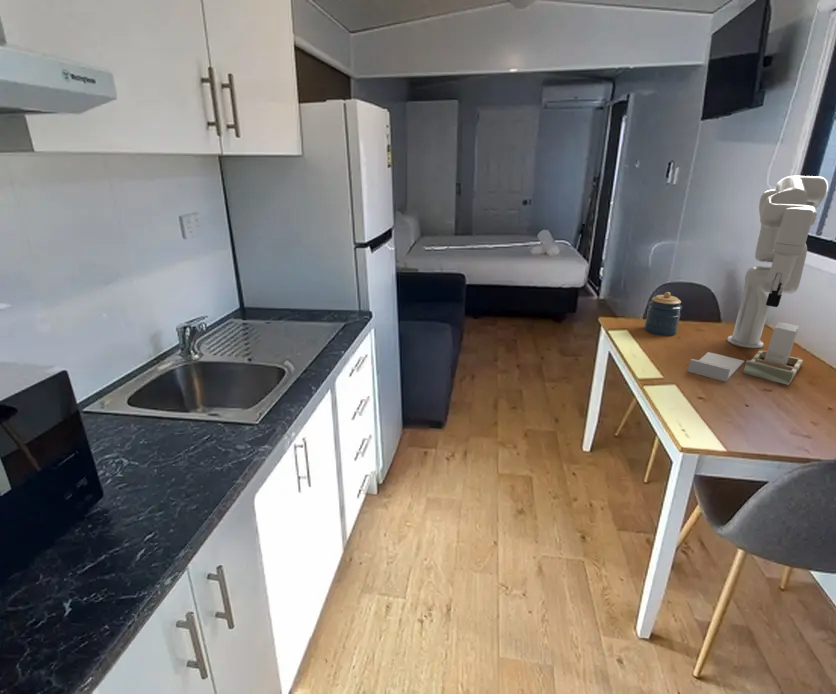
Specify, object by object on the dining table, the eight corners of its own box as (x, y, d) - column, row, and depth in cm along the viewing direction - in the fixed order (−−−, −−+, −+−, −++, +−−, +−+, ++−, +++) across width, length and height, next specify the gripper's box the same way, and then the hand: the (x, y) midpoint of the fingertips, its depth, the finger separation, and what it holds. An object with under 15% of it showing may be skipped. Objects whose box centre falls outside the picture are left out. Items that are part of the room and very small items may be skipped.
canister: (661, 338, 206) (669, 297, 199) (637, 328, 217) (644, 289, 210) (683, 334, 211) (692, 294, 204) (658, 325, 222) (666, 287, 215)
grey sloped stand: (707, 353, 189) (710, 343, 187) (743, 362, 181) (746, 351, 179) (687, 371, 173) (690, 359, 171) (725, 381, 165) (729, 369, 164)
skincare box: (766, 360, 184) (778, 321, 178) (787, 365, 180) (800, 325, 174) (761, 366, 178) (773, 326, 172) (783, 372, 174) (796, 330, 168)
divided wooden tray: (758, 355, 188) (761, 344, 186) (801, 365, 179) (804, 354, 178) (743, 373, 172) (746, 361, 170) (789, 385, 163) (792, 372, 162)
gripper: (778, 244, 159) (763, 298, 166) (769, 250, 149) (753, 308, 156) (806, 247, 154) (790, 303, 161) (799, 254, 144) (781, 313, 151)
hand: (772, 305), depth 158 cm, fingers closed
